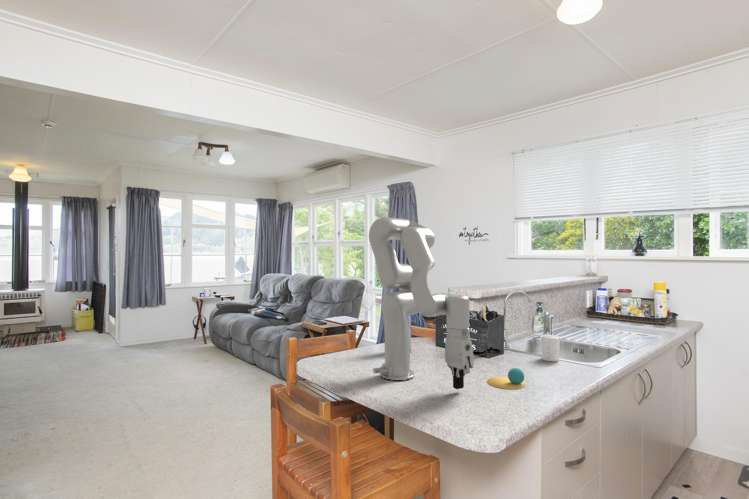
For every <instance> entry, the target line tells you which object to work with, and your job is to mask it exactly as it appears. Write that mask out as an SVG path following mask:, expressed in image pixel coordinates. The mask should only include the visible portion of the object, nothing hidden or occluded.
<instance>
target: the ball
mask: <svg viewBox="0 0 749 499" xmlns="http://www.w3.org/2000/svg"><path fill="white" fill-rule="evenodd" d="M507 377H508V379H509V380H510V382H512V383H513V384H520V383H522V382H524V380H525V374H524V372H523V371H522V370H521V369H520V368H518V367H514V368H511V369H510V370H508V373H507Z"/></svg>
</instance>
